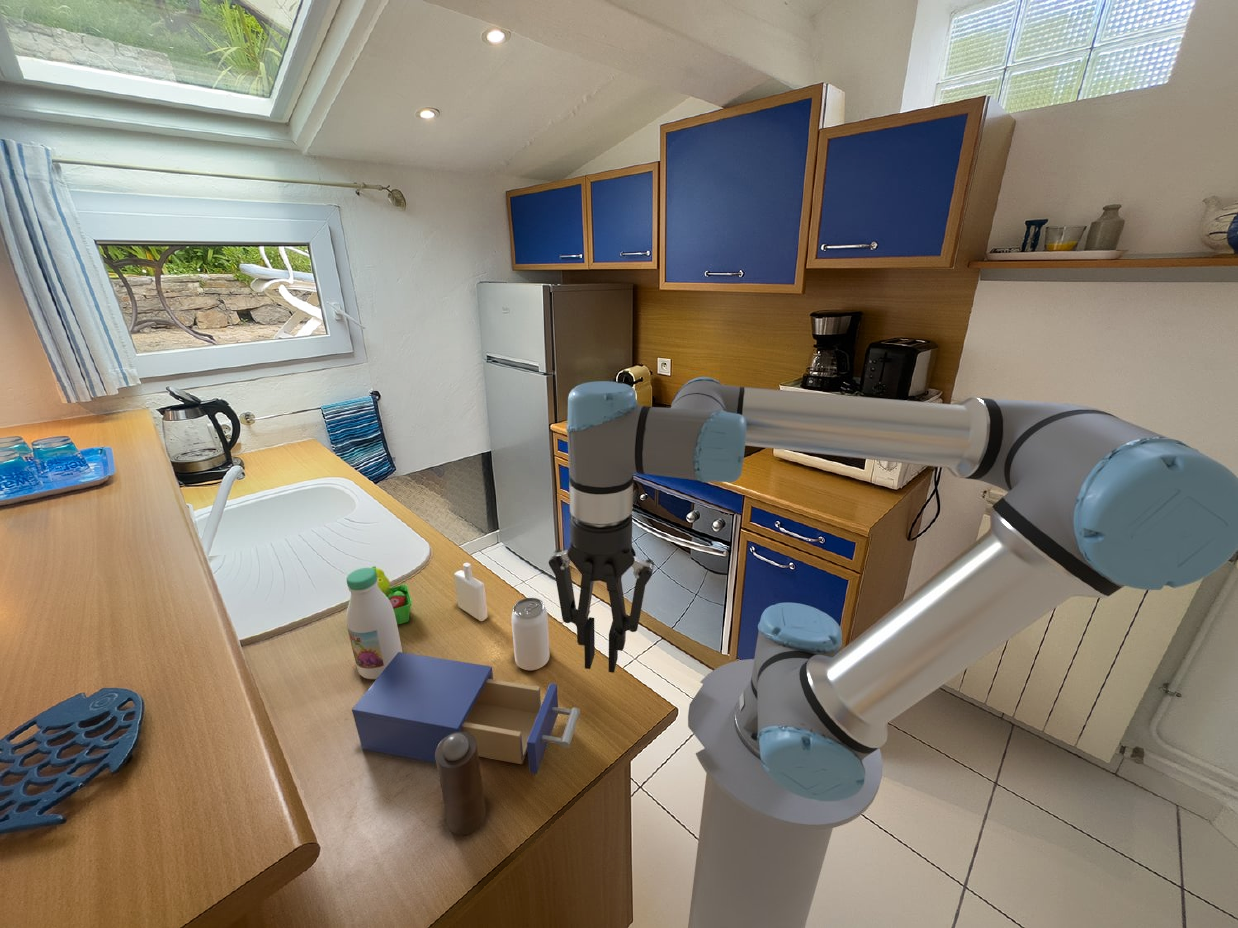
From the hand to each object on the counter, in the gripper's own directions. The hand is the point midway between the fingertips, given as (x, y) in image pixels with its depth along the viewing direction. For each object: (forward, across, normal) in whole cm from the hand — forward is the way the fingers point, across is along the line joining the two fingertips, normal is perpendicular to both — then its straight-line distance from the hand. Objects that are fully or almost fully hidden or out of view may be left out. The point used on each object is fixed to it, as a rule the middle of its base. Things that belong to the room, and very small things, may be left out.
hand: (601, 662), depth 68 cm
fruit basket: (+19, +51, -21) cm, 58 cm away
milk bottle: (+19, +44, -10) cm, 49 cm away
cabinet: (+19, +28, 0) cm, 34 cm away
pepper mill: (+19, +16, +12) cm, 27 cm away
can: (+19, +17, -17) cm, 30 cm away
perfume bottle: (+19, +34, -27) cm, 47 cm away
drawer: (+18, +14, 0) cm, 22 cm away
